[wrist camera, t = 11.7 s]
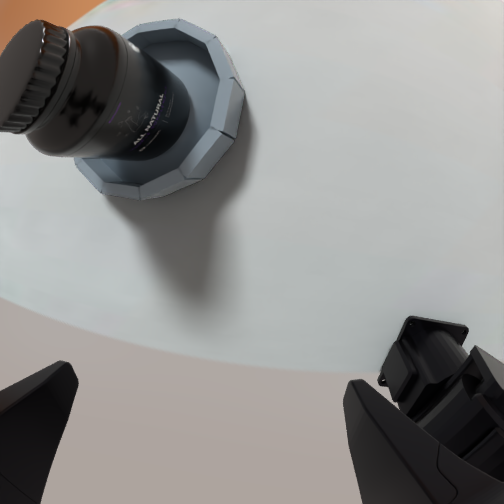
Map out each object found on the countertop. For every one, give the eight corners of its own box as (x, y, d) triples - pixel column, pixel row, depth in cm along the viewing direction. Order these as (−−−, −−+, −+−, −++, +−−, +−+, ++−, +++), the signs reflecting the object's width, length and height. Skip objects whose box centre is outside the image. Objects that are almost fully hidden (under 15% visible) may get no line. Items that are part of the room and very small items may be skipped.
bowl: (257, 37, 15) (249, 16, 12) (223, 208, 18) (208, 213, 16) (113, 46, 16) (93, 35, 14) (84, 184, 20) (60, 187, 17)
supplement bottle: (196, 153, 17) (46, 129, 6) (113, 169, 18) (-30, 178, 7) (193, 61, 15) (79, -30, 4) (113, 85, 17) (-12, 48, 5)
